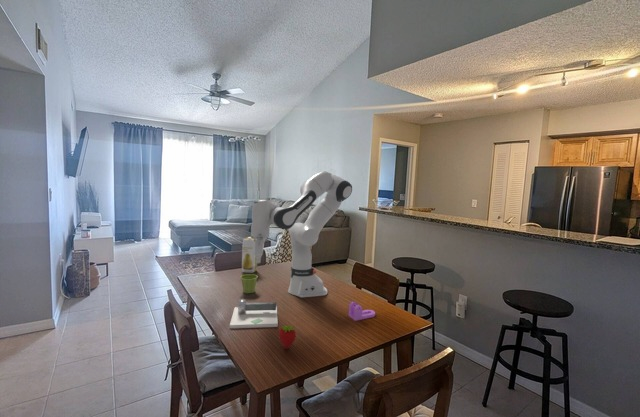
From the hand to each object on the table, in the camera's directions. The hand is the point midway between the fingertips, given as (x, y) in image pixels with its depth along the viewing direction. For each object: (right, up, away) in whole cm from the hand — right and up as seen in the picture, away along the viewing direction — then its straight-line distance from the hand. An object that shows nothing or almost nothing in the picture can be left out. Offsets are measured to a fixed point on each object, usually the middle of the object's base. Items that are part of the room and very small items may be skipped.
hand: (259, 260), depth 148 cm
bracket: (+51, -26, -4) cm, 57 cm away
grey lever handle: (+1, -22, -9) cm, 24 cm away
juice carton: (-18, -18, +57) cm, 62 cm away
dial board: (0, -24, -11) cm, 27 cm away
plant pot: (-10, -21, +20) cm, 31 cm away
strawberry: (+18, -27, -35) cm, 48 cm away
